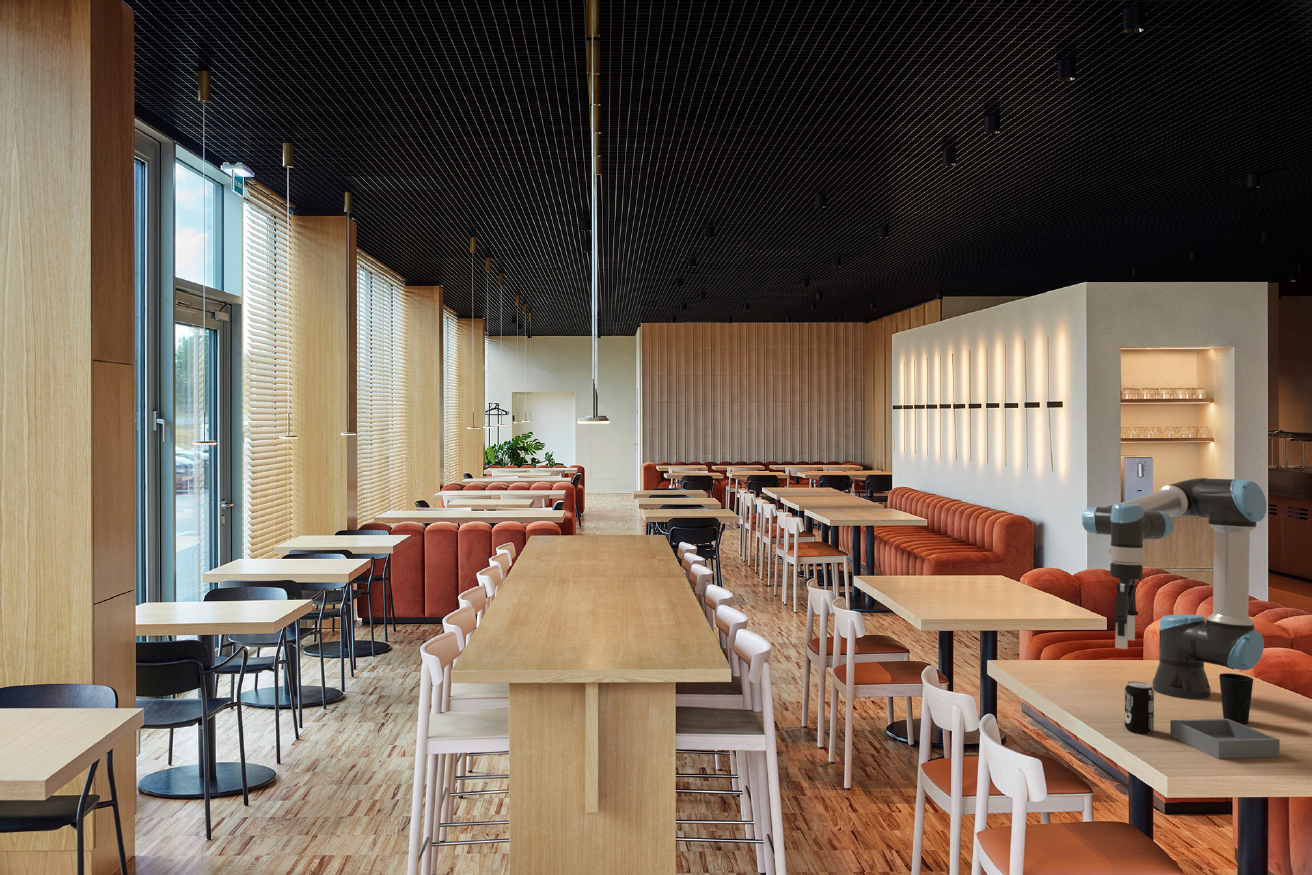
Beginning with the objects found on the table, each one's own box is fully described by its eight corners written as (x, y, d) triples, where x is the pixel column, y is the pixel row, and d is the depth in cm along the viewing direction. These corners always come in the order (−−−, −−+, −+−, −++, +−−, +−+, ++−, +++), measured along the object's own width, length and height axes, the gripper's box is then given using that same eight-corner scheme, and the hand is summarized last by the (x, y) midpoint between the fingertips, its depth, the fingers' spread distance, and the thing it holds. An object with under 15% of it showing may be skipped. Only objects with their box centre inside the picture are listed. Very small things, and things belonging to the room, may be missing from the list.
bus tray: (1227, 734, 225) (1227, 718, 225) (1279, 756, 209) (1279, 739, 209) (1170, 736, 223) (1170, 720, 223) (1218, 758, 207) (1218, 741, 207)
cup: (1242, 727, 231) (1242, 681, 231) (1212, 719, 238) (1213, 674, 238) (1259, 723, 235) (1259, 678, 235) (1229, 715, 242) (1229, 671, 242)
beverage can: (1119, 726, 230) (1119, 680, 231) (1142, 726, 231) (1143, 680, 231) (1134, 734, 224) (1135, 687, 224) (1159, 734, 224) (1159, 687, 225)
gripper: (1117, 557, 243) (1116, 634, 243) (1102, 565, 223) (1101, 649, 222) (1148, 559, 239) (1147, 638, 238) (1136, 568, 218) (1134, 654, 218)
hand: (1125, 643), depth 230 cm, fingers open, 13 cm apart
